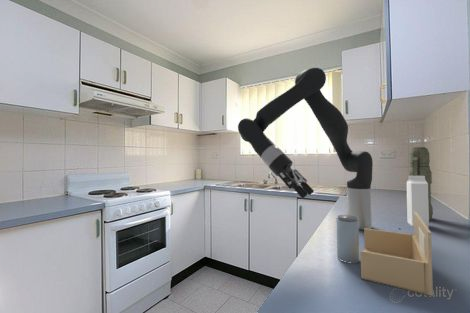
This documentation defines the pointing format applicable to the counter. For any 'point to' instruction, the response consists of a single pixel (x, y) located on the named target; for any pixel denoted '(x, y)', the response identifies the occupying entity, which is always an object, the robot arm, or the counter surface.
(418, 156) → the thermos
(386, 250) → the mailer
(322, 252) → the counter surface
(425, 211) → the milk
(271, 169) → the robot arm
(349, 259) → the canister
